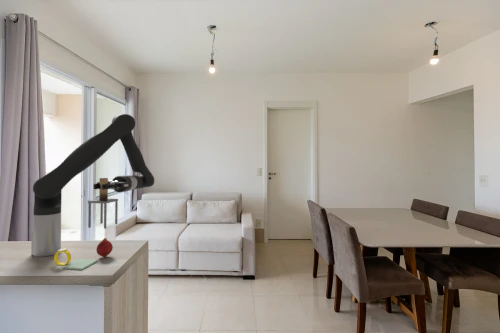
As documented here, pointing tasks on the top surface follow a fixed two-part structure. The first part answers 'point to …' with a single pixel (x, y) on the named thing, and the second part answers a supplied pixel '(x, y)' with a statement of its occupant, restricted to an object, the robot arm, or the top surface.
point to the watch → (66, 254)
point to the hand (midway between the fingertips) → (98, 186)
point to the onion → (104, 248)
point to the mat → (80, 264)
